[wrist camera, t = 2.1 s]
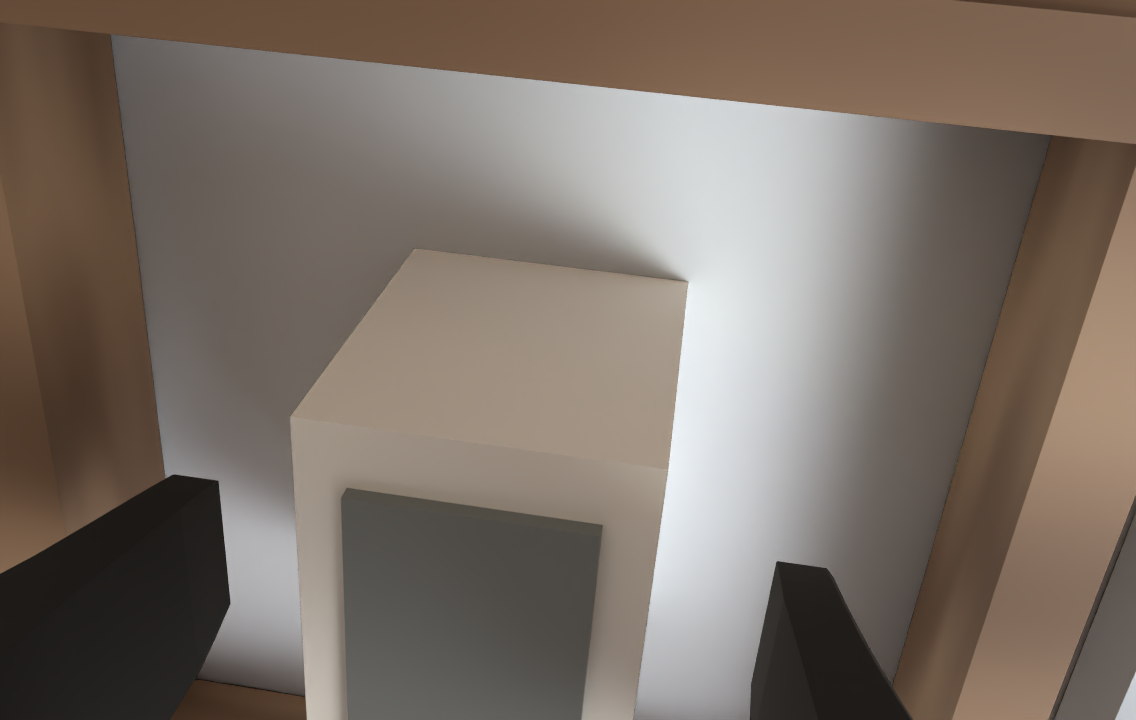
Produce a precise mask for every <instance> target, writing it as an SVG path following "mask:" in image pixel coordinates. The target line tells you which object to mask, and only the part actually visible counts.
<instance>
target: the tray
mask: <svg viewBox="0 0 1136 720" xmlns="http://www.w3.org/2000/svg"><path fill="white" fill-rule="evenodd" d="M1054 720H1136V513H1135V516H1134V519H1133V521H1132V524H1131V526H1130V529H1129V531H1128V534H1127V536H1126V539H1125V541H1124V544H1123V546H1122V549H1121V552H1120V554H1119V557H1118V559H1117V562H1116V564H1115V567H1114V569H1113V572H1112V574H1111V577H1110V580H1109V582H1108V585H1107V587H1106V590H1105V592H1104V595H1103V597H1102V600H1101V602H1100V605H1099V607H1098V610H1097V613H1096V615H1095V618H1094V620H1093V623H1092V625H1091V628H1090V630H1089V633H1088V635H1087V638H1086V641H1085V643H1084V646H1083V648H1082V651H1081V653H1080V656H1079V658H1078V661H1077V663H1076V666H1075V668H1074V671H1073V674H1072V676H1071V679H1070V681H1069V684H1068V686H1067V689H1066V691H1065V694H1064V696H1063V699H1062V702H1061V704H1060V707H1059V709H1058V712H1057V714H1056V717H1055V719H1054Z"/></svg>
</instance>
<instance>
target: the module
mask: <svg viewBox="0 0 1136 720" xmlns="http://www.w3.org/2000/svg"><path fill="white" fill-rule="evenodd" d="M687 289H688V282H685V281H677V280H669V279H660V278H652V277H644V276H636V275H628V274H620V273H612V272H604V271H595V270H587V269H579V268H571V267H563V266H555V265H547V264H539V263H530V262H522V261H514V260H506V259H498V258H490V257H482V256H474V255H465V254H457V253H449V252H441V251H433V250H425V249H417V248H414V250H413V251H412V252H411V254H410V255H409V256H408V258H407V259H406V260H405V262H404V263H403V265H402V266H401V267H400V269H399V270H398V271H397V273H396V274H395V275H394V277H393V278H392V279H391V281H390V282H389V283H388V285H387V286H386V288H385V289H384V290H383V292H382V293H381V294H380V296H379V297H378V298H377V300H376V301H375V302H374V304H373V305H372V306H371V308H370V309H369V311H368V312H367V313H366V315H365V316H364V317H363V319H362V320H361V321H360V323H359V324H358V325H357V327H356V328H355V329H354V331H353V332H352V334H351V335H350V336H349V338H348V339H347V340H346V342H345V343H344V344H343V346H342V347H341V348H340V350H339V351H338V352H337V354H336V355H335V357H334V358H333V359H332V361H331V362H330V363H329V365H328V366H327V367H326V369H325V370H324V371H323V373H322V374H321V375H320V377H319V378H318V380H317V381H316V382H315V384H314V385H313V386H312V388H311V389H310V390H309V392H308V393H307V394H306V396H305V397H304V398H303V400H302V401H301V403H300V404H299V405H298V407H297V408H296V409H295V411H294V412H293V413H292V415H291V416H290V428H291V446H292V464H293V482H294V500H295V517H296V535H297V553H298V571H299V589H300V606H301V624H302V642H303V660H304V678H305V695H306V713H307V720H633V718H634V711H635V704H636V696H637V689H638V682H639V675H640V668H641V661H642V654H643V646H644V639H645V632H646V625H647V618H648V611H649V604H650V596H651V589H652V582H653V575H654V568H655V561H656V554H657V546H658V539H659V532H660V525H661V518H662V511H663V504H664V496H665V489H666V482H667V475H668V467H669V458H670V448H671V439H672V430H673V420H674V411H675V401H676V392H677V383H678V373H679V364H680V355H681V345H682V336H683V326H684V317H685V308H686V298H687Z"/></svg>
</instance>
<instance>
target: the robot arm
mask: <svg viewBox="0 0 1136 720" xmlns="http://www.w3.org/2000/svg"><path fill="white" fill-rule="evenodd" d="M229 606H230V595H229V584H228V574H227V564H226V554H225V544H224V534H223V523H222V513H221V503H220V493H219V483H218V481H216V480H209V479H202V478H195V477H188V476H181V475H172V476H170V477H168V478H166V479H164V480H162V481H160V482H158V483H157V484H155V485H153V486H151V487H150V488H148V489H146V490H144V491H143V492H141V493H139V494H138V495H136V496H134V497H133V498H131V499H129V500H127V501H126V502H124V503H122V504H121V505H119V506H117V507H116V508H114V509H112V510H111V511H109V512H107V513H106V514H104V515H102V516H101V517H99V518H97V519H96V520H94V521H92V522H91V523H89V524H87V525H86V526H84V527H82V528H80V529H79V530H77V531H75V532H74V533H72V534H70V535H69V536H67V537H65V538H63V539H62V540H60V541H58V542H57V543H55V544H53V545H51V546H50V547H48V548H46V549H45V550H43V551H41V552H39V553H38V554H36V555H34V556H32V557H31V558H29V559H27V560H25V561H23V562H21V563H19V564H17V565H16V566H14V567H12V568H10V569H8V570H6V571H4V572H3V573H1V574H0V720H170V719H171V717H172V715H173V714H174V712H175V711H176V709H177V707H178V706H179V704H180V702H181V701H182V699H183V698H184V696H185V694H186V693H187V691H188V690H189V688H190V686H191V685H192V683H193V681H194V680H195V678H196V676H197V675H198V673H199V671H200V669H201V667H202V665H203V663H204V661H205V659H206V657H207V655H208V653H209V650H210V648H211V646H212V644H213V642H214V640H215V638H216V635H217V633H218V631H219V628H220V626H221V624H222V622H223V619H224V617H225V615H226V612H227V610H228V608H229ZM750 720H913V719H912V717H911V716H910V714H909V713H908V711H907V710H906V708H905V706H904V705H903V703H902V702H901V700H900V698H899V697H898V695H897V693H896V692H895V690H894V689H893V687H892V685H891V684H890V682H889V680H888V679H887V677H886V675H885V674H884V672H883V671H882V669H881V667H880V666H879V664H878V662H877V660H876V659H875V657H874V655H873V653H872V652H871V650H870V648H869V646H868V644H867V643H866V641H865V639H864V637H863V635H862V633H861V632H860V630H859V628H858V626H857V624H856V622H855V620H854V618H853V616H852V614H851V613H850V611H849V609H848V607H847V605H846V603H845V601H844V599H843V596H842V594H841V592H840V590H839V588H838V586H837V584H836V582H835V580H834V577H833V576H832V575H831V574H830V572H829V571H828V570H827V568H820V567H813V566H806V565H800V564H793V563H786V562H779V561H777V562H776V567H775V572H774V576H773V581H772V586H771V591H770V596H769V601H768V605H767V610H766V615H765V620H764V625H763V630H762V634H761V639H760V644H759V649H758V654H757V658H756V663H755V668H754V673H753V678H752V683H751V705H750Z"/></svg>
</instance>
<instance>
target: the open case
mask: <svg viewBox="0 0 1136 720" xmlns="http://www.w3.org/2000/svg"><path fill="white" fill-rule="evenodd" d="M110 34H114V35H123V36H133V37H142V38H151V39H161V40H170V41H179V42H188V43H198V44H207V45H216V46H226V47H235V48H244V49H254V50H263V51H272V52H282V53H291V54H300V55H310V56H319V57H328V58H338V59H347V60H356V61H366V62H375V63H384V64H394V65H403V66H412V67H421V68H431V69H440V70H449V71H459V72H468V73H477V74H487V75H496V76H505V77H515V78H524V79H533V80H543V81H552V82H561V83H571V84H580V85H589V86H599V87H608V88H617V89H627V90H636V91H645V92H654V93H664V94H673V95H682V96H692V97H701V98H710V99H720V100H729V101H738V102H748V103H757V104H766V105H776V106H785V107H794V108H804V109H813V110H822V111H832V112H841V113H850V114H860V115H869V116H878V117H887V118H897V119H906V120H915V121H925V122H934V123H943V124H953V125H962V126H971V127H981V128H990V129H999V130H1009V131H1018V132H1027V133H1037V134H1046V135H1052V137H1051V141H1050V144H1049V148H1048V151H1047V155H1046V158H1045V161H1044V165H1043V168H1042V172H1041V175H1040V179H1039V182H1038V186H1037V189H1036V192H1035V196H1034V199H1033V203H1032V206H1031V210H1030V213H1029V217H1028V220H1027V223H1026V227H1025V230H1024V234H1023V237H1022V241H1021V244H1020V248H1019V251H1018V255H1017V258H1016V261H1015V265H1014V268H1013V272H1012V275H1011V279H1010V282H1009V286H1008V289H1007V292H1006V296H1005V299H1004V303H1003V306H1002V310H1001V313H1000V317H999V320H998V323H997V327H996V330H995V334H994V337H993V341H992V344H991V348H990V351H989V355H988V358H987V361H986V365H985V368H984V372H983V375H982V379H981V382H980V386H979V389H978V392H977V396H976V399H975V403H974V406H973V410H972V413H971V417H970V420H969V423H968V427H967V430H966V434H965V437H964V441H963V444H962V448H961V451H960V455H959V458H958V461H957V465H956V468H955V472H954V475H953V479H952V482H951V486H950V489H949V492H948V496H947V499H946V503H945V506H944V510H943V513H942V517H941V520H940V523H939V527H938V530H937V534H936V537H935V541H934V544H933V548H932V551H931V555H930V558H929V561H928V565H927V568H926V572H925V575H924V579H923V582H922V586H921V589H920V592H919V596H918V599H917V603H916V606H915V610H914V613H913V617H912V620H911V623H910V627H909V630H908V634H907V637H906V641H905V644H904V648H903V651H902V655H901V658H900V661H899V665H898V668H897V672H896V675H895V679H894V682H893V686H892V687H893V689H894V690H895V692H896V693H897V695H898V697H899V698H900V700H901V702H902V703H903V705H904V706H905V708H906V710H907V711H908V713H909V714H910V716H911V717H912V719H913V720H1048V719H1049V717H1050V714H1051V711H1052V709H1053V706H1054V704H1055V701H1056V699H1057V696H1058V693H1059V691H1060V688H1061V686H1062V683H1063V681H1064V678H1065V676H1066V673H1067V670H1068V668H1069V665H1070V663H1071V660H1072V658H1073V655H1074V652H1075V650H1076V647H1077V645H1078V642H1079V640H1080V637H1081V634H1082V632H1083V629H1084V627H1085V624H1086V622H1087V619H1088V617H1089V614H1090V611H1091V609H1092V606H1093V604H1094V601H1095V599H1096V596H1097V593H1098V591H1099V588H1100V586H1101V583H1102V581H1103V578H1104V575H1105V573H1106V570H1107V568H1108V565H1109V563H1110V560H1111V558H1112V555H1113V552H1114V550H1115V547H1116V545H1117V542H1118V540H1119V537H1120V534H1121V532H1122V529H1123V527H1124V524H1125V522H1126V519H1127V516H1128V514H1129V511H1130V509H1131V506H1132V504H1133V501H1134V499H1135V496H1136V0H0V574H1V573H3V572H4V571H6V570H8V569H10V568H12V567H14V566H16V565H17V564H19V563H21V562H23V561H25V560H27V559H29V558H31V557H32V556H34V555H36V554H38V553H39V552H41V551H43V550H45V549H46V548H48V547H50V546H51V545H53V544H55V543H57V542H58V541H60V540H62V539H63V538H65V537H67V536H69V535H70V534H72V533H74V532H75V531H77V530H79V529H80V528H82V527H84V526H86V525H87V524H89V523H91V522H92V521H94V520H96V519H97V518H99V517H101V516H102V515H104V514H106V513H107V512H109V511H111V510H112V509H114V508H116V507H117V506H119V505H121V504H122V503H124V502H126V501H127V500H129V499H131V498H133V497H134V496H136V495H138V494H139V493H141V492H143V491H144V490H146V489H148V488H150V487H151V486H153V485H155V484H157V483H158V482H160V481H162V480H164V479H165V473H164V465H163V457H162V449H161V441H160V433H159V425H158V417H157V409H156V401H155V392H154V384H153V376H152V368H151V360H150V352H149V344H148V336H147V328H146V320H145V312H144V304H143V296H142V288H141V280H140V272H139V264H138V256H137V247H136V239H135V231H134V223H133V215H132V207H131V199H130V191H129V183H128V175H127V167H126V159H125V151H124V143H123V135H122V127H121V119H120V111H119V102H118V94H117V86H116V78H115V70H114V62H113V54H112V46H111V38H110ZM170 720H307V713H306V697H301V696H295V695H289V694H283V693H277V692H271V691H265V690H258V689H252V688H246V687H240V686H234V685H228V684H222V683H216V682H210V681H203V680H197V679H195V680H194V681H193V683H192V685H191V686H190V688H189V690H188V691H187V693H186V694H185V696H184V698H183V699H182V701H181V702H180V704H179V706H178V707H177V709H176V711H175V712H174V714H173V715H172V717H171V719H170Z"/></svg>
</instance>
